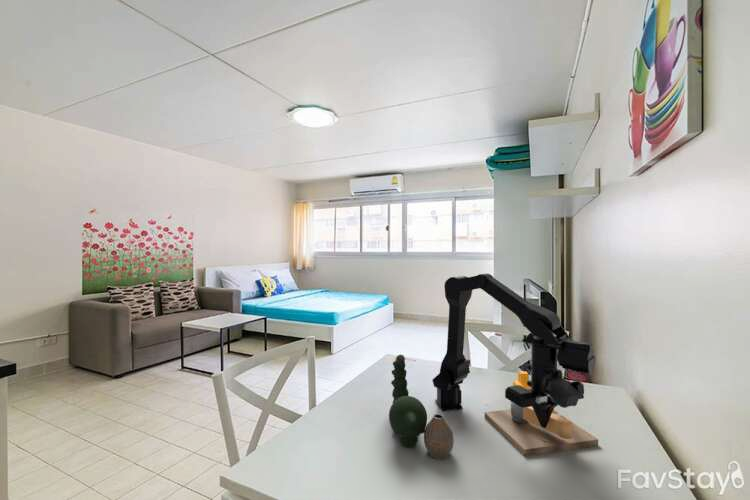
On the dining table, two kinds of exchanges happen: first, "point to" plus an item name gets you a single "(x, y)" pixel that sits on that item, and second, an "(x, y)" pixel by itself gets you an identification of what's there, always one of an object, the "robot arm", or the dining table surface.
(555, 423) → the latch lever
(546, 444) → the mount plate
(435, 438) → the vase
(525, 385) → the pipe clamp
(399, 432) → the toy figurine
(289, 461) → the dining table surface
